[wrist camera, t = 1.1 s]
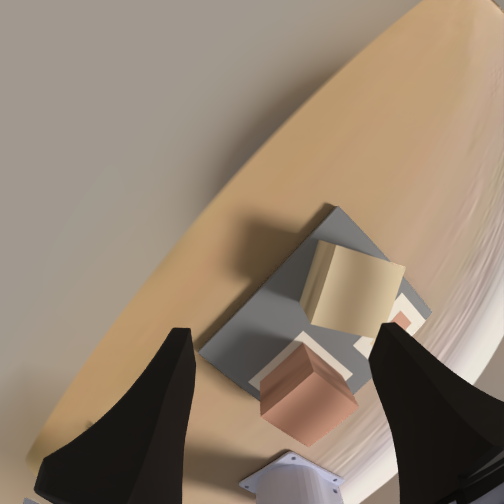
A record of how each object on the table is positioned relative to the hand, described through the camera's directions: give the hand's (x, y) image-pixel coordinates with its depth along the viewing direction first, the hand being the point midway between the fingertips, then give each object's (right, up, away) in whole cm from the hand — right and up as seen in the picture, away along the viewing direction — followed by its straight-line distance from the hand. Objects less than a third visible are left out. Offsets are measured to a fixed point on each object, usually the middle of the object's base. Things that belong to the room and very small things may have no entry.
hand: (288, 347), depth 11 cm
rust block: (+3, -7, +13) cm, 15 cm away
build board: (+4, -3, +13) cm, 14 cm away
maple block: (+5, +1, +12) cm, 13 cm away
